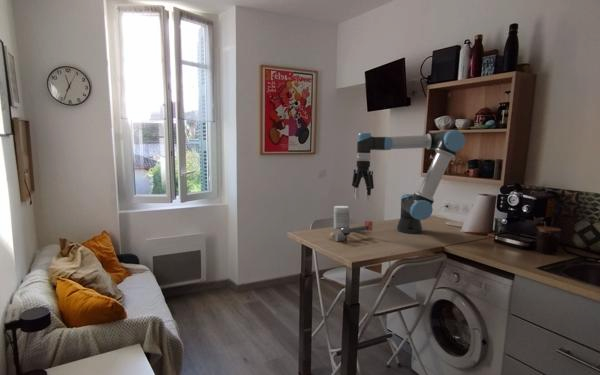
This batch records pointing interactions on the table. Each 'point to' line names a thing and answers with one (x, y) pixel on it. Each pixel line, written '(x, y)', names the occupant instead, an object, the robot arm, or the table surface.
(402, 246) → the table surface
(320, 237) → the table surface
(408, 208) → the robot arm
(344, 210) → the supplement tub
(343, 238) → the lever
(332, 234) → the walnut
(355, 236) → the cracker base
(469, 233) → the table surface
